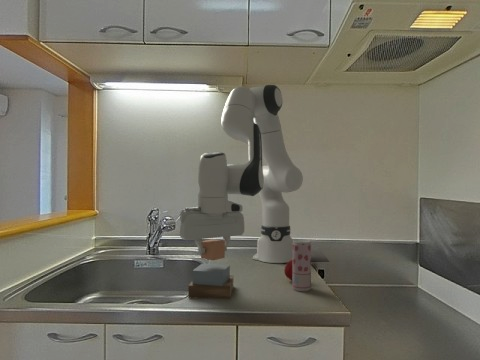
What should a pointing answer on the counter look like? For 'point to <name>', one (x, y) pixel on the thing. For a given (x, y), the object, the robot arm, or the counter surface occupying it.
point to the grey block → (211, 274)
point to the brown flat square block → (212, 290)
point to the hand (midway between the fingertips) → (212, 252)
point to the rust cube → (213, 249)
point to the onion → (289, 269)
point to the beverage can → (301, 265)
